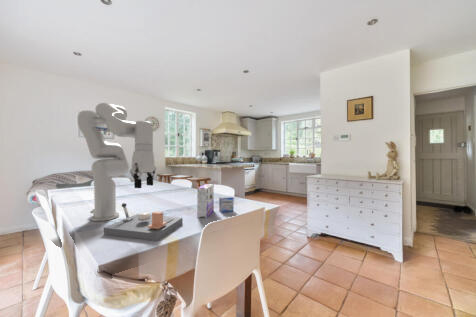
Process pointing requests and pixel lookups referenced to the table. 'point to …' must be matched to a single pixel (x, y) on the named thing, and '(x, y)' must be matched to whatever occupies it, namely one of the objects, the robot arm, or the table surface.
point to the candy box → (205, 200)
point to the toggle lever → (125, 210)
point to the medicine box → (226, 204)
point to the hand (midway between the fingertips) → (144, 186)
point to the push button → (143, 216)
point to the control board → (142, 228)
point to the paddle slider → (157, 220)
